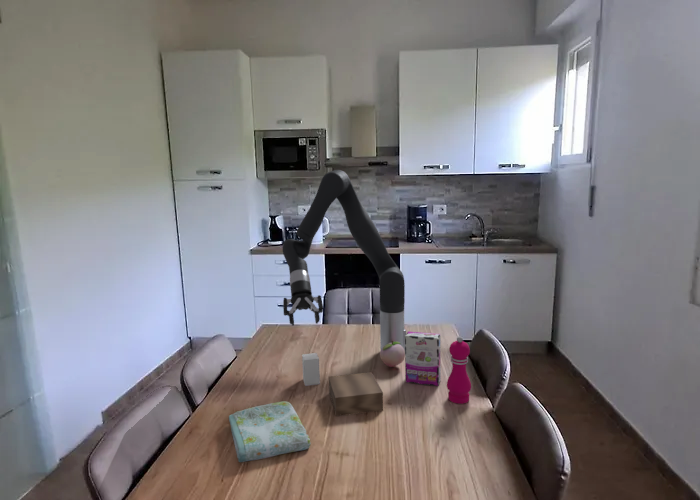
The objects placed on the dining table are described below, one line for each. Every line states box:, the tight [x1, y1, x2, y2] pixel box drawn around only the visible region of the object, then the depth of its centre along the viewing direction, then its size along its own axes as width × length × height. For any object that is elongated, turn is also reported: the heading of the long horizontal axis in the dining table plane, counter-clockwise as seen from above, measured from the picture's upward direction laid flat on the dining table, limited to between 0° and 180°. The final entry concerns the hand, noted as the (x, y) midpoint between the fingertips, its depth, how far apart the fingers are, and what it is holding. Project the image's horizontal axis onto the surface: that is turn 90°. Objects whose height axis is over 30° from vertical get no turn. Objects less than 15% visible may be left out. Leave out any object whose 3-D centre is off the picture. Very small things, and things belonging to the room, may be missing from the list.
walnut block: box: [328, 371, 384, 417], centre depth 137 cm, size 14×14×6 cm
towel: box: [228, 400, 312, 463], centre depth 120 cm, size 18×21×5 cm
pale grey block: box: [301, 352, 321, 387], centre depth 151 cm, size 5×5×9 cm
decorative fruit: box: [379, 341, 405, 368], centre depth 160 cm, size 9×8×10 cm
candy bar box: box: [404, 331, 442, 387], centre depth 148 cm, size 11×5×16 cm, turn 71°
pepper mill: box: [446, 336, 472, 405], centre depth 136 cm, size 7×7×20 cm
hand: (305, 323), depth 159 cm, fingers open, 8 cm apart
